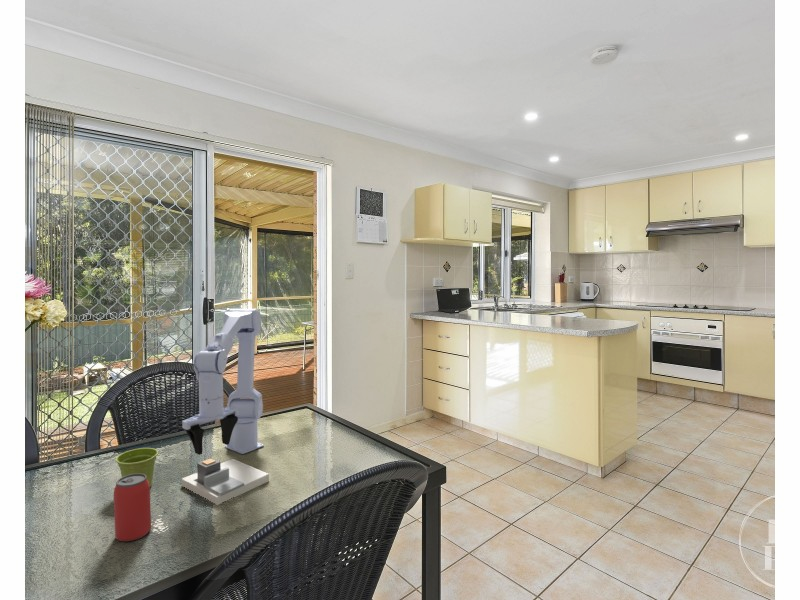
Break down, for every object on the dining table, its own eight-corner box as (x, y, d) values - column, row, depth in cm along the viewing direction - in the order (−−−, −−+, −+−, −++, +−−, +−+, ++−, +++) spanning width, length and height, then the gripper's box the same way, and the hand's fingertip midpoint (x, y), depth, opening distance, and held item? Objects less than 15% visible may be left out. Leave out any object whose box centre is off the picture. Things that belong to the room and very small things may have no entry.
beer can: (125, 525, 98) (123, 472, 97) (156, 524, 99) (155, 471, 98) (108, 544, 91) (106, 487, 91) (142, 542, 92) (140, 486, 91)
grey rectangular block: (197, 485, 115) (197, 462, 114) (212, 479, 118) (211, 456, 118) (206, 490, 113) (205, 466, 112) (220, 484, 116) (220, 460, 115)
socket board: (181, 486, 116) (181, 478, 116) (232, 465, 128) (232, 458, 128) (217, 505, 106) (217, 497, 106) (268, 481, 119) (268, 473, 119)
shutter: (203, 487, 111) (203, 476, 111) (226, 477, 116) (226, 467, 116) (221, 496, 107) (220, 485, 107) (244, 485, 112) (244, 475, 112)
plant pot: (167, 482, 118) (166, 450, 117) (136, 500, 109) (134, 465, 108) (140, 477, 121) (139, 445, 120) (107, 493, 112) (106, 459, 111)
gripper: (192, 406, 106) (194, 462, 107) (245, 393, 118) (246, 443, 119) (177, 401, 111) (178, 454, 112) (229, 388, 122) (230, 437, 123)
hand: (212, 448), depth 116 cm, fingers open, 7 cm apart
